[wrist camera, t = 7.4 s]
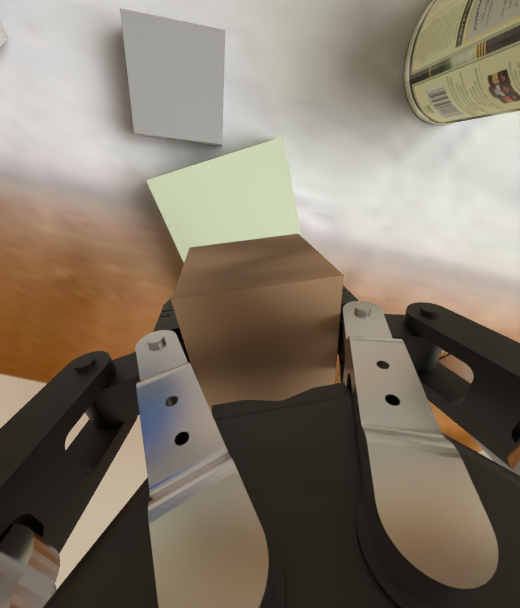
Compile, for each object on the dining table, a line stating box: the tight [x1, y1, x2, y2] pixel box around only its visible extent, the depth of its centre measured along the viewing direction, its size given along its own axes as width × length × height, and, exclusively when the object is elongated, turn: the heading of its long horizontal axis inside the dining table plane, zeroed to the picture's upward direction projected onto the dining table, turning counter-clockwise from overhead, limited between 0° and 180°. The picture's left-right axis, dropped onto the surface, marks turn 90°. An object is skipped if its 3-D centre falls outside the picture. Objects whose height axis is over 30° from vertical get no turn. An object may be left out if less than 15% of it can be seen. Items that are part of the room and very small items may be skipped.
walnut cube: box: [171, 234, 344, 413], centre depth 11 cm, size 5×5×5 cm
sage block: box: [146, 137, 301, 262], centre depth 26 cm, size 12×12×4 cm
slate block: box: [120, 9, 225, 146], centre depth 21 cm, size 7×7×3 cm
